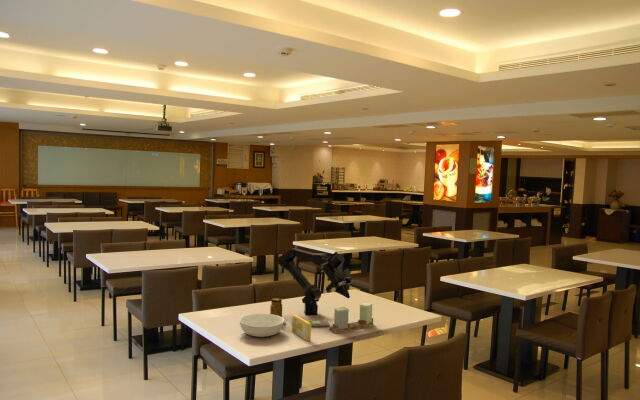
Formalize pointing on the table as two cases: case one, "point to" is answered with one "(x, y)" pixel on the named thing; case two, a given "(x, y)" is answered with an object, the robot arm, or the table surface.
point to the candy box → (301, 327)
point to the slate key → (341, 317)
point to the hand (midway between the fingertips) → (349, 297)
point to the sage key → (366, 312)
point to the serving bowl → (261, 324)
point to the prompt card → (319, 324)
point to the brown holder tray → (351, 326)
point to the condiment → (276, 307)
